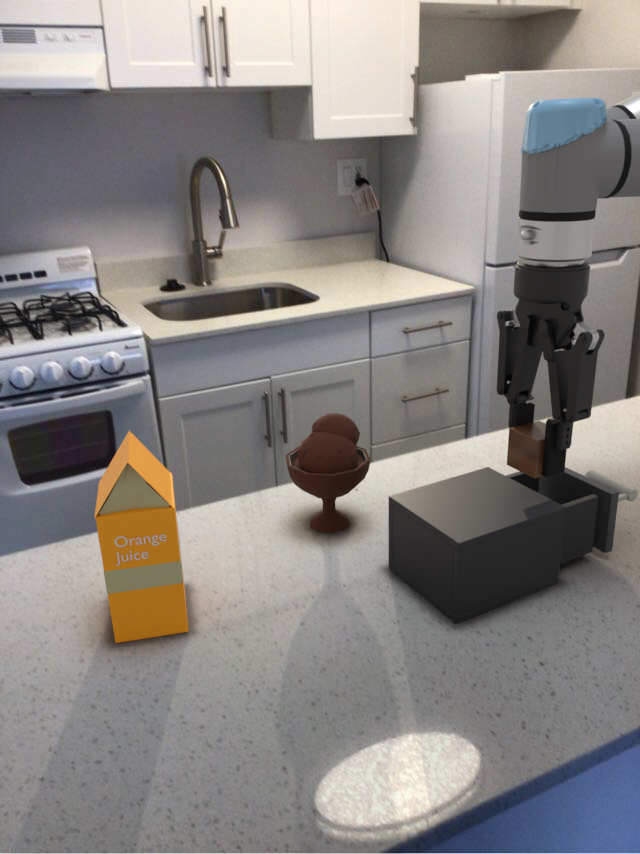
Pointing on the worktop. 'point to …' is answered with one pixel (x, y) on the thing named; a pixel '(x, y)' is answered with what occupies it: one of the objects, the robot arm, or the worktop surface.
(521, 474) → the dark grey drawer
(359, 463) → the ice cream bowl
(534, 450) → the block
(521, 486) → the dark grey cuboid
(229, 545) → the worktop surface
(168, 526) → the orange juice
